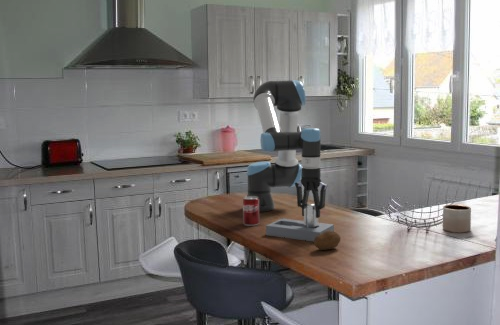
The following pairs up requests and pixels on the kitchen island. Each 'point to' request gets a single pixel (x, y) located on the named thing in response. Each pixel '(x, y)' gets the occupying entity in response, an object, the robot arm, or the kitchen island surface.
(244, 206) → the soda can
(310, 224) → the peg
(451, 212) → the planter
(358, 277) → the kitchen island surface
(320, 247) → the potato
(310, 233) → the keyhole board
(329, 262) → the kitchen island surface
